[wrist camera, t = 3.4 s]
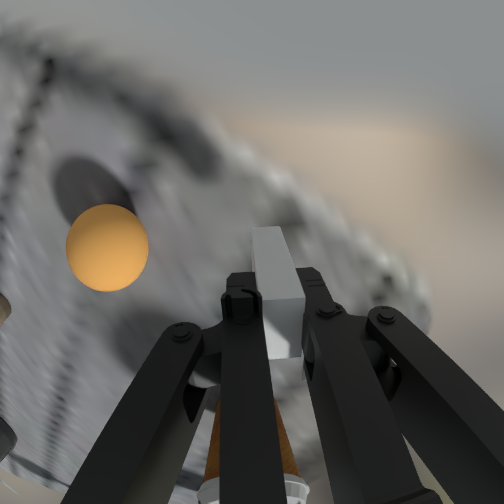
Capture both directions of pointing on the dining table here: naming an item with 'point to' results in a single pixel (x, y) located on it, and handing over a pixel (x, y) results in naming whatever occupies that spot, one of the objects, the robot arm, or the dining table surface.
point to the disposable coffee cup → (293, 480)
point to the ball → (107, 247)
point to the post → (4, 309)
